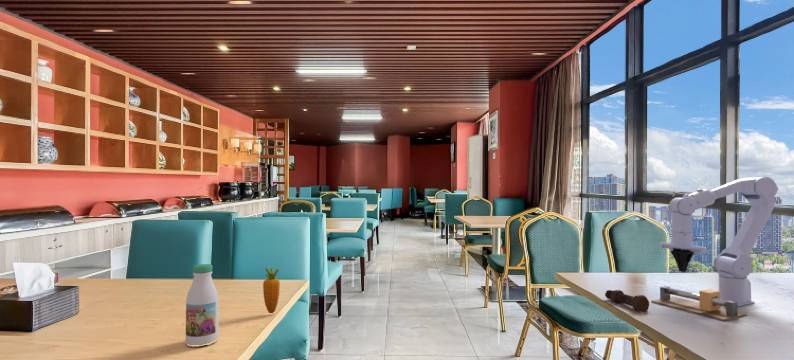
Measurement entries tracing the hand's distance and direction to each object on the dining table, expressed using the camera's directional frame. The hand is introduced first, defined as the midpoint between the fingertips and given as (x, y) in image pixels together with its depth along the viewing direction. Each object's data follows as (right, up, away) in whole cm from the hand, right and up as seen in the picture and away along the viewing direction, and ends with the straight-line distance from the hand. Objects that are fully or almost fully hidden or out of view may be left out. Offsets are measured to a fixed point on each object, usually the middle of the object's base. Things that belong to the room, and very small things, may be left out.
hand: (682, 271), depth 143 cm
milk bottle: (-150, -11, -36) cm, 155 cm away
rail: (-2, -10, -9) cm, 13 cm away
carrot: (-139, -11, -13) cm, 140 cm away
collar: (0, -9, -12) cm, 15 cm away
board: (-2, -10, -9) cm, 13 cm away
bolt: (-22, -11, -4) cm, 25 cm away
